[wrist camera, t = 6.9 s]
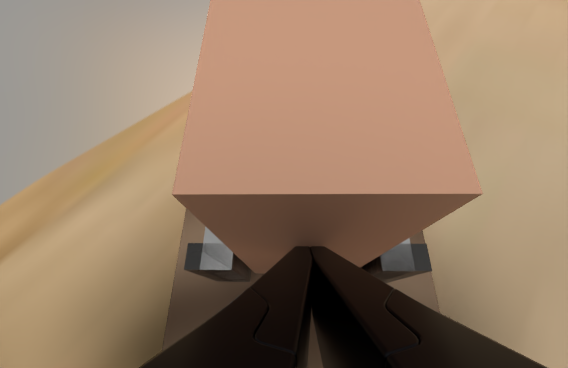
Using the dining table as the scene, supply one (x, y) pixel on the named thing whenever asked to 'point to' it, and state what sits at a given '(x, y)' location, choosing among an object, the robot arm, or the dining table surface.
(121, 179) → the dining table surface
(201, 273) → the grey block
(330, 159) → the terracotta peg
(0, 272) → the dining table surface
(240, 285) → the walnut board
